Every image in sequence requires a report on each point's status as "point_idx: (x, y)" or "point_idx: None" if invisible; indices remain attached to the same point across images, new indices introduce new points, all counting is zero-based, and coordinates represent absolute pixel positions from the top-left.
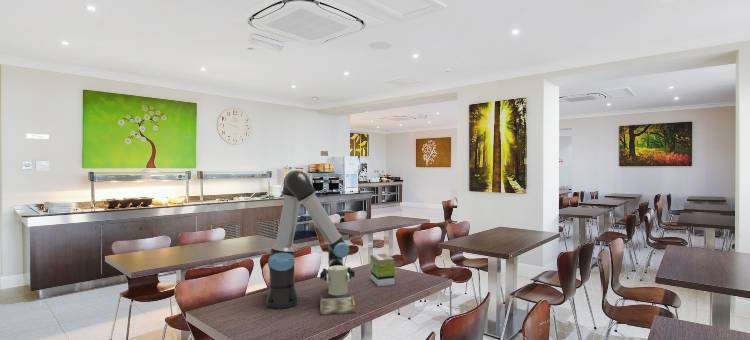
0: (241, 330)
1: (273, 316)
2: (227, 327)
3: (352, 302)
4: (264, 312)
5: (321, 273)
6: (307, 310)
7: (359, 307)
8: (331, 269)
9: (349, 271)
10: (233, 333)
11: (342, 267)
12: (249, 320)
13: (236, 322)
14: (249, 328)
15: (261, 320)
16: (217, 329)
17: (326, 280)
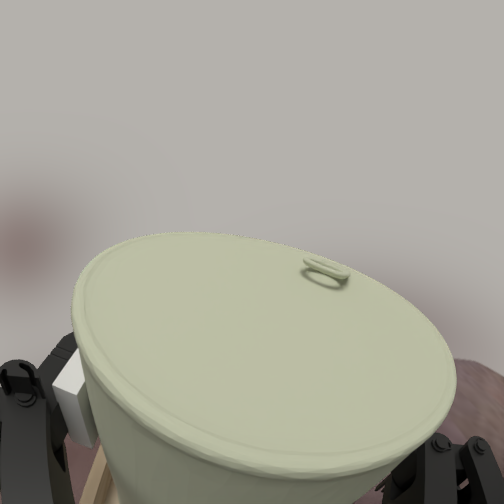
0: (461, 368)
1: (461, 436)
2: (492, 379)
3: (106, 475)
4: (499, 458)
5: (477, 441)
6: (378, 501)
7: (71, 475)
8: (355, 280)
9: (32, 368)
10: (462, 359)
11: (177, 286)
12: (489, 409)
13: (500, 398)
14: (456, 374)
15: (467, 410)
16: (497, 373)
17: (376, 488)
